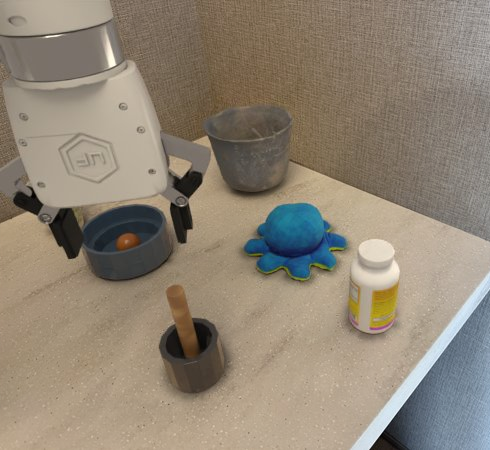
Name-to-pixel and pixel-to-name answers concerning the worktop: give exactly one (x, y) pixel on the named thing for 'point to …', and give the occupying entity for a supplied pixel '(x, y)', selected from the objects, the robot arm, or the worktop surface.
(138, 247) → the mixing bowl
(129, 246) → the bead
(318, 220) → the plush toy
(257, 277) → the worktop surface
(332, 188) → the worktop surface
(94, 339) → the worktop surface
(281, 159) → the grey bucket
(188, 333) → the stick
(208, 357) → the holder
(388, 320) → the supplement bottle
